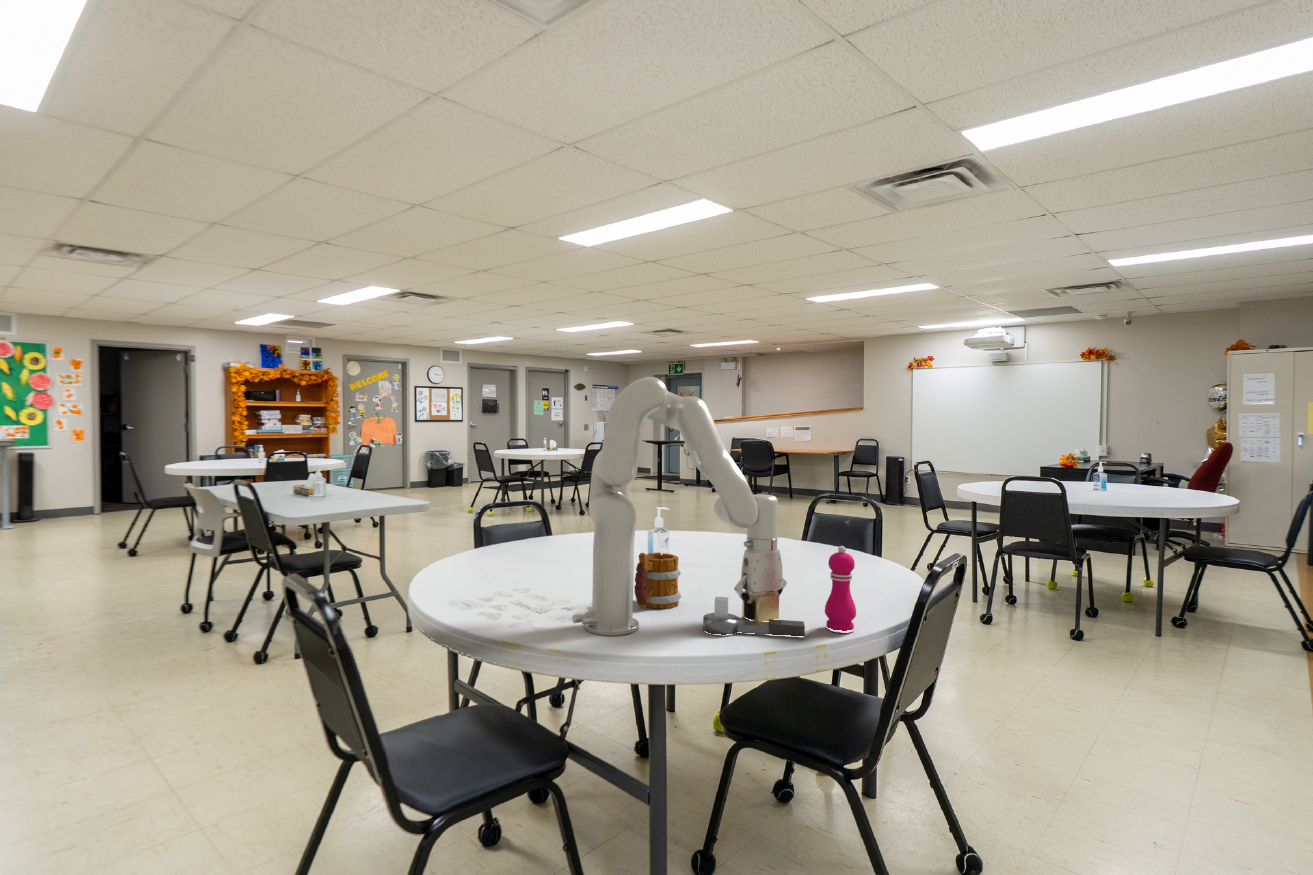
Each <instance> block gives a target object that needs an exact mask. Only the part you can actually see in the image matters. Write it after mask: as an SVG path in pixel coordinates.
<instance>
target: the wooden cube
mask: <svg viewBox="0 0 1313 875" xmlns="http://www.w3.org/2000/svg"><path fill="white" fill-rule="evenodd" d="M749 594H750V592H749ZM749 594H748V597H749ZM741 603H742V607H741V608H742V609H741V611H742V612H741V613H742V614H741V618H742V617H744V601H742V602H741ZM752 603H754V619H753V621H759V622H763V621H769V619H773V620H774V619H779V618H780V615H779V614H780V595H778V594H775V593H773V592H770V591H769V592H762V593H755V596H754V599H753V601H752ZM779 620H780V619H779Z"/></svg>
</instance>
